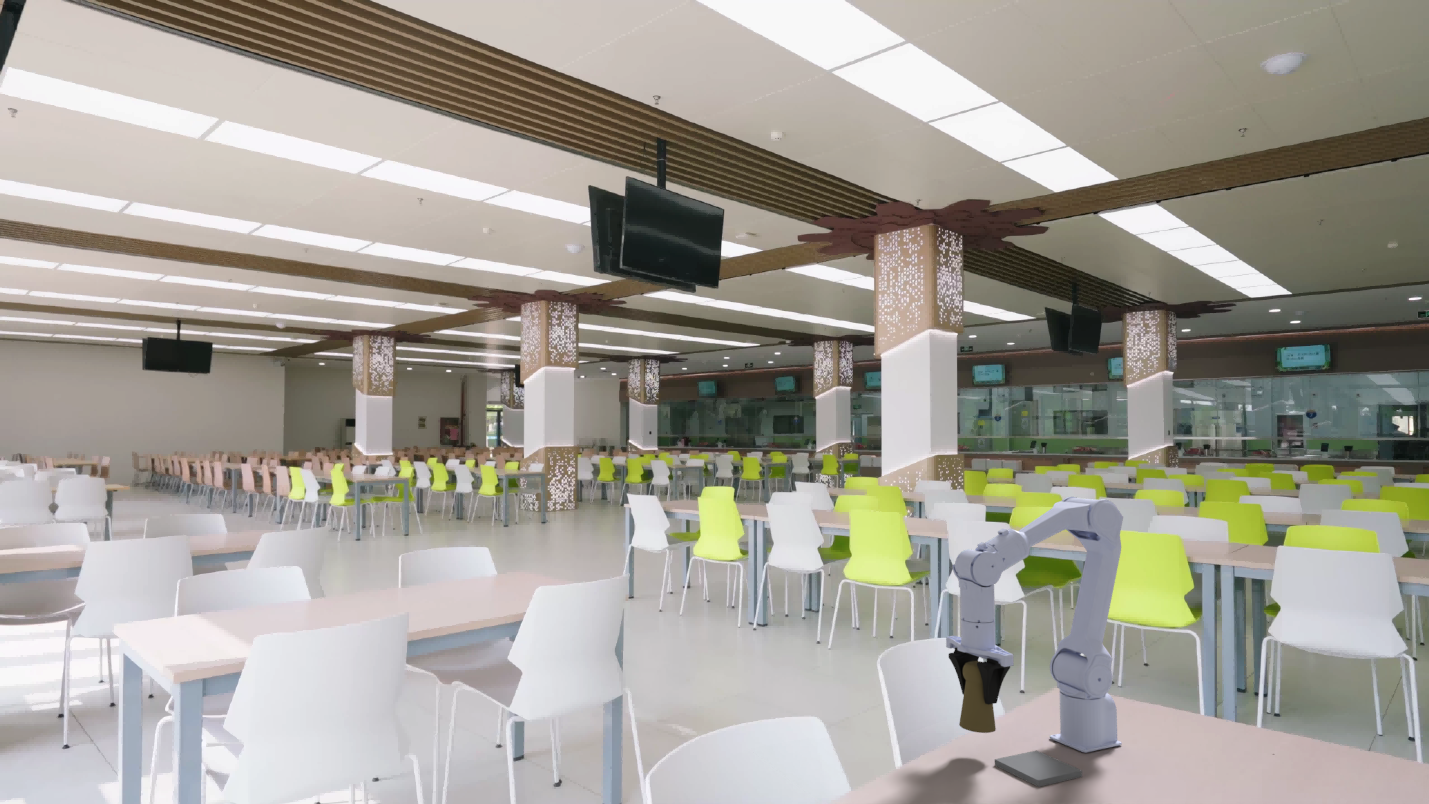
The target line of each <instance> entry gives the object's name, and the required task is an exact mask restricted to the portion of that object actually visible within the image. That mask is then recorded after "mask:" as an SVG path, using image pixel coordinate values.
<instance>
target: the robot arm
mask: <svg viewBox="0 0 1429 804" xmlns="http://www.w3.org/2000/svg"><path fill="white" fill-rule="evenodd" d="M1123 522H1124V516H1123V514H1122V513H1121V511H1120V509H1119V508H1118V507H1117V505H1116V504H1115V503H1114V502H1113V501H1111V500H1109V499H1102V498H1101V499H1095V498H1094V499H1092V498H1085V497H1084V498H1083V497H1078V496H1067V497H1065V498H1062V500H1060V501H1057V502H1055V503H1053V505H1052V508H1050V509H1049V510H1047V511H1046V512H1045V513H1043V514H1041V515H1040V516H1039V517H1037V518H1035V519H1033V520H1032V521H1031V522H1029V523H1028V524H1027V525H1025V526H1024V527H1022V528H1021V529H1019V530H1015V529H1013V528H1001V529H1000V530H998V531H997V533H998V534H997V535H995V536H994V537H993V538H991V539H989V540H987V541H985V542H983V541H981V542H979V543H977V546H976V547H975V549H972V548H971V549H970V548H968V549H963V551H961V552H960V553H958V555H957V557H956V558H955V561H954V562H955V563H954V564H952V571H953V573H954V575H955V577H956V578H957V580H958V588H959V597H960V598H959V600H960V604H959V605H960V636H957V635H949V636H946V637H945V642H946V643H945V644H946V645H945V647H946V648H948V649H954V651H953V652H949V653H948V659H949V660H950V662H951V664H952V665H953V668H954V670H955V673H956V675H957V679H958V682H959V685H960V690H961V693H962V695H963V696H964V691H965V684H966V680H965V678H964V676H963V667H964V665H965V663H967V662H969V661H979V659H980V658H981V659H984V660H986V661H980V662H979V663H977V666H978V668H979V671H980V674H981V678H982V683H983V694H984V701H985V704H988V705H989V704H993V705H994V704H997V703H998V698H999V695H1000V691H1001V687H1002V684H1003V682H1004V679H1005V677H1006V675H1007V673H1008V672H1009V670H1010V669H1011V667H1013V666H1014V665H1015V664H1014V654H1013V653H1011V652H1009V651H1007V650H1004V649H1003V648H1001V647H1000V646H998V645H996V613H995V612H996V611H995V608H996V607H995V602H996V601H995V585H996V584H997V583H998V582H999V580H1000V578H1001V576H1002V573H1003V572H1005V571H1006V570H1008V569H1009V568H1011V567H1013V566H1014V565H1016V564H1018V563H1019V562H1022V561H1023V560H1025V559H1027V558H1028V557H1029V556H1030V551H1031V548H1032V547H1033V546H1036V545H1038V544H1040V543H1041V542H1043V541H1045V540H1047V539H1049V538H1051V537H1053V536H1055V535H1057V534H1059V533H1061V532H1062V531H1065V530H1066V531H1068V533H1069V534H1071V535H1072V536H1073V537H1074V538H1075V539H1077V540H1078V541H1079V542H1080V543H1081V544H1082V546H1083V548H1084V549H1085V551H1086V553H1085V554H1086V555H1085V560H1084V564H1083V565H1084V566H1083V570H1082V575H1081V579H1080V584H1079V587H1078V588H1079V589H1078V594H1077V599H1076V604H1075V609H1074V613H1073V614H1074V615H1073V618H1072V623H1071V628H1070V631H1069V632H1070V633H1069V634H1068V635H1066V636H1065V637H1064V638H1062V639H1061V640H1059V642H1058V644H1057V649H1056V651H1055V653H1054V654H1053V655H1052V657H1051V659H1050V662H1049V673H1050V675H1051V677H1052V679H1053V680H1054V681H1055V682H1056V688H1057V689H1059V692H1058V693H1059V721H1060V722H1059V723H1060V724H1059V727H1060V728H1059V731H1060V733H1056V734H1055V733H1054V734H1051V735H1049V739H1050V740H1053V741H1055V742H1058V743H1060V744H1062V745H1064V746H1066V747H1070V748H1072V749H1073V750H1074V749H1075V750H1077V751H1078V752H1080V753H1081V752H1082V753H1084V754H1085V753H1091V752H1094V751H1099V750H1105V749H1109V748H1112V747H1118V746H1122V741H1120V740H1118V711H1117V705H1116V702H1115V699H1113V697H1112V696H1111V694H1109V691H1110V690H1111V688H1112V684H1113V672H1112V661H1113V658H1112V656H1111V654H1110V652H1109V650H1108V649H1107V648H1106V647H1105V646H1104V644H1103V643H1104V637H1105V634H1106V630H1107V629H1106V628H1107V623H1108V617H1109V613H1110V608H1111V603H1112V599H1113V598H1112V597H1113V593H1114V587H1115V583H1116V577H1117V572H1118V569H1119V568H1118V567H1119V563H1120V558H1121V551H1122V540H1121V532H1122V531H1121V530H1122V526H1123ZM1081 654H1083V655H1081Z"/></svg>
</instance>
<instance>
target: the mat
mask: <svg viewBox="0 0 1429 804" xmlns="http://www.w3.org/2000/svg"><path fill="white" fill-rule="evenodd" d="M994 766H996V767H997V768H1000V769H1001V770H1003V769H1004V771H1006V772H1007V773H1010V774H1012V775H1013V776H1016V777H1017V778H1020V779H1021V780H1023V781H1026V782H1027V783H1030V784H1032V785H1033V786H1036V787H1038V788H1040V787H1044V786H1045V787H1046V786H1048V785H1053V784H1057V783H1061V782H1066V781H1069V780H1073V779H1078V778H1082V777H1083V770H1082V769H1080V768H1077V767H1075V766H1073V765H1071V764H1069V763H1067V762H1064V761H1062V760H1059V759H1057V758H1055V757H1053V756H1051V755H1048V754H1046V753H1043V752H1042V751H1039V750H1032V751H1027V752H1023V753H1017V754H1014V755H1013V754H1012V755H1007V756H1004V757H999V758H995V759H994Z"/></svg>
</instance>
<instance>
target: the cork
mask: <svg viewBox="0 0 1429 804" xmlns="http://www.w3.org/2000/svg"><path fill="white" fill-rule="evenodd" d="M979 662H981V661H980V660H978V661H969V662H967V663H965V665H964V667H963V676H964V678H965V680H966V684H965V691H964V695H963V698H962V705H961V712H960V718H959V723H958V724H959V725H958V726H960V727H961V729H963V730H966V731H970V732H974V733H978V734H979V733H980V734H981V733H983V734H987V733H988V734H989V733H994V732H995V731H996V730H997V728H996V719H995V711H994V704H989V705H988V704H985V701H984V694H983V683H982V678H981V674H980V671H979V668H978V666H977V663H979Z"/></svg>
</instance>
